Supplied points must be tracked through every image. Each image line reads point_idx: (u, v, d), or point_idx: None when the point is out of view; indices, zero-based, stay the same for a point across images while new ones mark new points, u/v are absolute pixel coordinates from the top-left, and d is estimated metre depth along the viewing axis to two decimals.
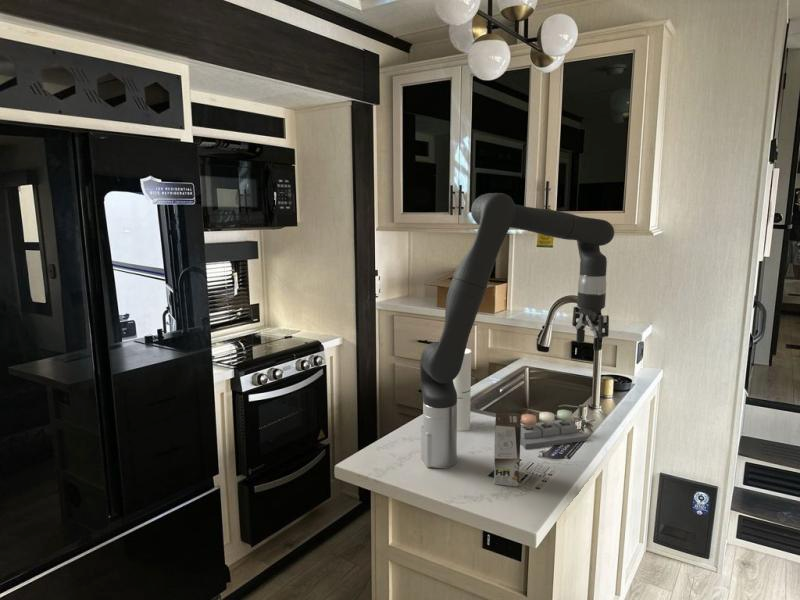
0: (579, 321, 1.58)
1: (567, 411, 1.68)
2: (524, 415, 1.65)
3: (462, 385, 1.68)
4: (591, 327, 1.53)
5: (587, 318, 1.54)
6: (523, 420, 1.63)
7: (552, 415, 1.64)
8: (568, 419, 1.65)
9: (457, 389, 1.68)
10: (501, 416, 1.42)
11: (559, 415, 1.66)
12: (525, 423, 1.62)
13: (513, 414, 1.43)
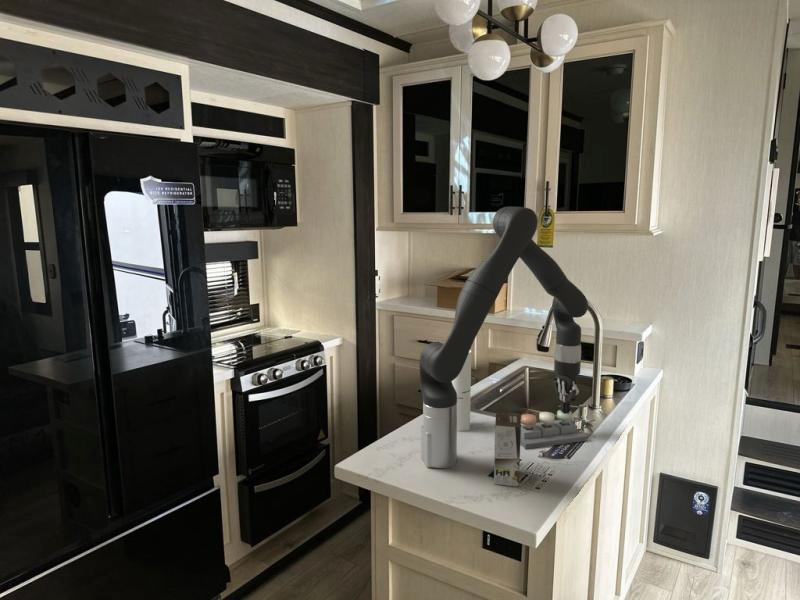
0: (559, 388, 1.66)
1: None
2: (524, 415, 1.65)
3: (462, 385, 1.68)
4: (563, 393, 1.64)
5: (563, 384, 1.63)
6: (523, 420, 1.63)
7: (552, 415, 1.64)
8: (568, 419, 1.65)
9: (457, 389, 1.68)
10: (502, 416, 1.42)
11: (559, 415, 1.66)
12: (525, 423, 1.62)
13: (513, 414, 1.43)
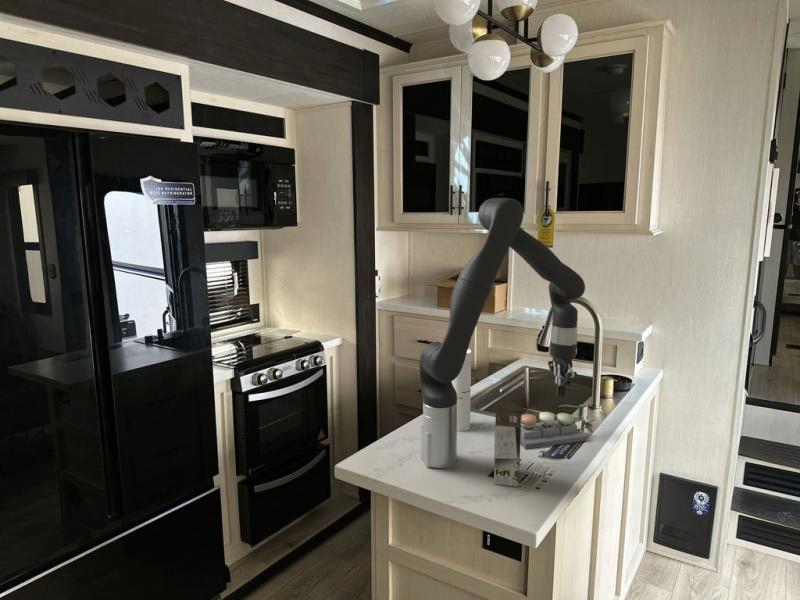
0: (555, 371, 1.64)
1: (567, 414, 1.68)
2: (524, 415, 1.65)
3: (462, 385, 1.68)
4: (558, 376, 1.62)
5: (559, 367, 1.61)
6: (523, 420, 1.63)
7: (552, 415, 1.64)
8: (568, 422, 1.65)
9: (457, 389, 1.68)
10: (502, 416, 1.42)
11: (559, 418, 1.66)
12: (525, 423, 1.62)
13: (513, 414, 1.43)
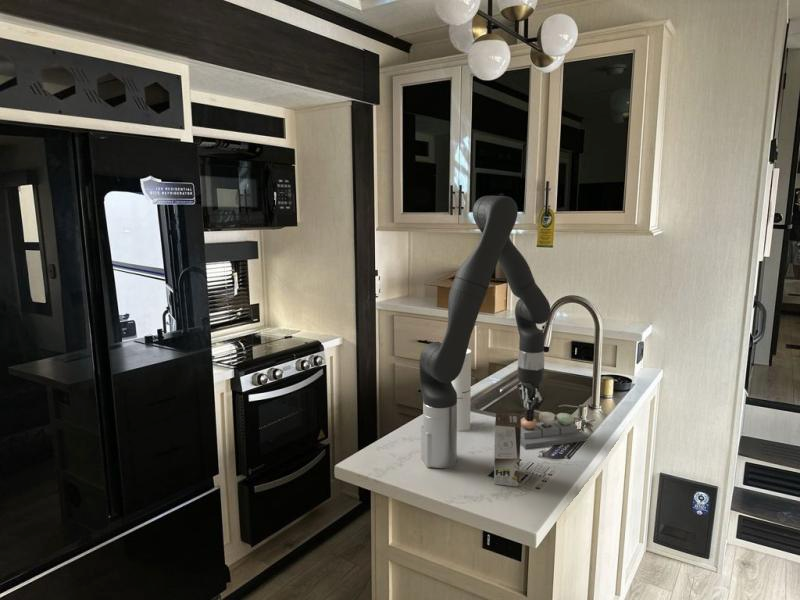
0: (523, 395, 1.63)
1: (567, 414, 1.68)
2: (524, 418, 1.65)
3: (462, 385, 1.68)
4: (526, 400, 1.61)
5: (526, 391, 1.60)
6: (523, 423, 1.63)
7: (552, 415, 1.64)
8: (568, 422, 1.65)
9: (457, 389, 1.68)
10: (502, 416, 1.42)
11: (559, 418, 1.66)
12: (525, 426, 1.62)
13: (513, 414, 1.43)
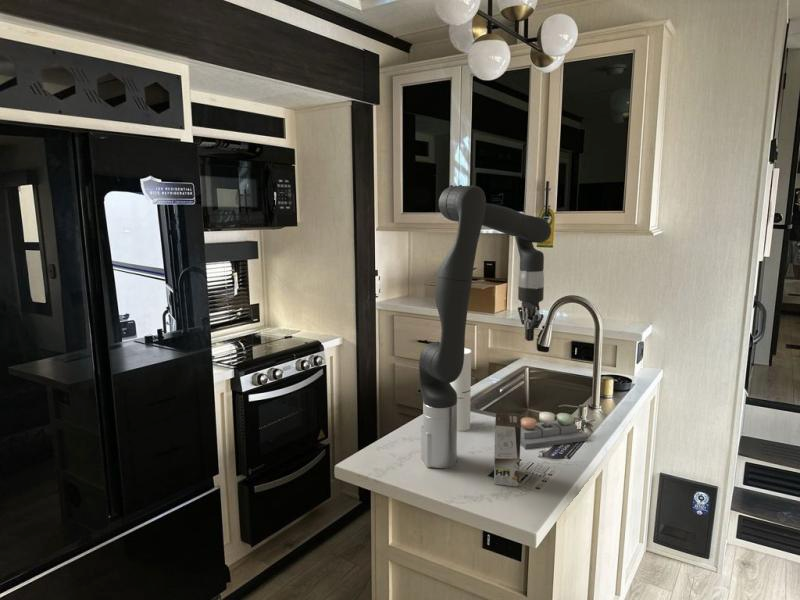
0: (523, 316, 1.68)
1: (567, 414, 1.68)
2: (524, 418, 1.65)
3: (462, 385, 1.68)
4: (526, 320, 1.66)
5: (526, 310, 1.65)
6: (523, 424, 1.63)
7: (552, 415, 1.64)
8: (568, 422, 1.65)
9: (457, 389, 1.68)
10: (502, 416, 1.42)
11: (559, 418, 1.66)
12: (525, 427, 1.62)
13: (513, 414, 1.43)
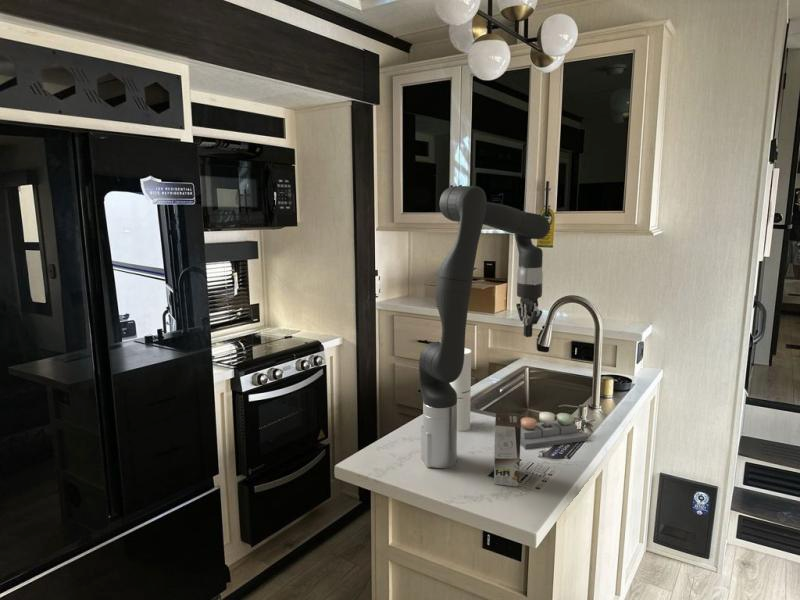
0: (522, 312, 1.69)
1: (567, 414, 1.68)
2: (524, 418, 1.65)
3: (462, 385, 1.68)
4: (525, 316, 1.67)
5: (525, 306, 1.66)
6: (523, 424, 1.63)
7: (552, 415, 1.64)
8: (568, 422, 1.65)
9: (457, 389, 1.68)
10: (502, 416, 1.42)
11: (559, 418, 1.66)
12: (525, 427, 1.62)
13: (513, 414, 1.43)
